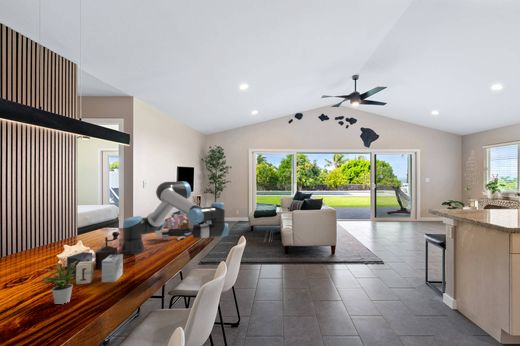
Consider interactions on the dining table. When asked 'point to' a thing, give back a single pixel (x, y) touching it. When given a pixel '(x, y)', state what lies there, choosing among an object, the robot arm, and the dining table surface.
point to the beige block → (84, 272)
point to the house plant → (61, 284)
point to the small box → (78, 260)
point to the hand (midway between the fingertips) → (155, 233)
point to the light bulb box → (112, 268)
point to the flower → (175, 223)
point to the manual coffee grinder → (105, 252)
